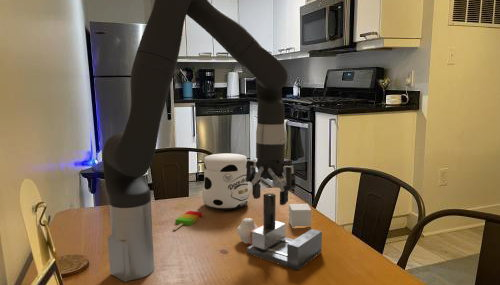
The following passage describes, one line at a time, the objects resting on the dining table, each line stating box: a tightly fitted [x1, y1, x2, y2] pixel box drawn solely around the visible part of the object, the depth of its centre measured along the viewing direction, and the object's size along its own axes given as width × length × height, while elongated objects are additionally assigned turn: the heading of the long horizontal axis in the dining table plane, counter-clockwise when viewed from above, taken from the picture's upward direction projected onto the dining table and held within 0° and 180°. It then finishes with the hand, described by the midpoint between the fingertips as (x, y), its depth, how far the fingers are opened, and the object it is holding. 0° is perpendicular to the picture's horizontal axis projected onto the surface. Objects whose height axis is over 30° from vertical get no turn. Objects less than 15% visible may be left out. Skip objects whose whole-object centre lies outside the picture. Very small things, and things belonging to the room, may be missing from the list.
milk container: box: [201, 152, 251, 211], centre depth 138 cm, size 17×17×18 cm
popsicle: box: [172, 210, 203, 231], centre depth 123 cm, size 6×15×2 cm, turn 162°
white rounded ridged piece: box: [236, 217, 259, 244], centre depth 108 cm, size 6×6×7 cm
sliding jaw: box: [249, 192, 287, 250], centre depth 103 cm, size 10×5×13 cm, turn 142°
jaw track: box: [246, 228, 323, 271], centre depth 100 cm, size 12×16×6 cm
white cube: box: [288, 203, 312, 227], centre depth 120 cm, size 6×6×6 cm
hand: (269, 201), depth 101 cm, fingers open, 8 cm apart
